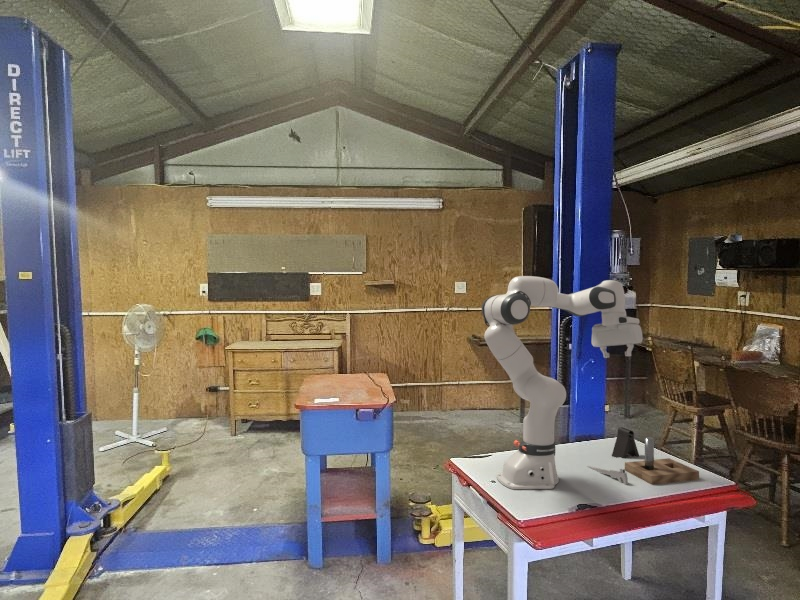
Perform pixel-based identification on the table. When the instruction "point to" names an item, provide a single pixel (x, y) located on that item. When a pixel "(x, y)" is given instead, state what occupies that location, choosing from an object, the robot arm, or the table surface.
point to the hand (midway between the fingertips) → (617, 357)
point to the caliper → (613, 474)
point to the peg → (649, 453)
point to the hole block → (662, 471)
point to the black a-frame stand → (625, 444)
